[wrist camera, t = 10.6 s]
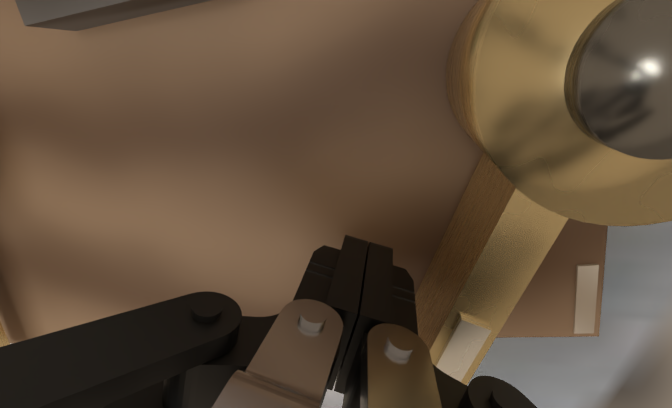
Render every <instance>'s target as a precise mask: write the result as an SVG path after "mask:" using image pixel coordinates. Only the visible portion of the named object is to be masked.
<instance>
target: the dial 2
mask: <svg viewBox="0 0 672 408" xmlns="http://www.w3.org/2000/svg"><path fill="white" fill-rule="evenodd" d="M446 90H447V95H448V100H449V103H450V106H451V109H452V112H453V114H454V115H455V117H456V119H457V121H458V123H459V124H460V126H461V127H462V128H463V130H464V131H465V132H466V133H467V134H468V135H469V137H470V138H471V139H472V140H473V141H474V142H475V143H476V144H477V145H478V147H479V148H480V149H481V150H482V151H483V154H482V156H481V158H480V160H479V163H478V165H477V167H476V169H475V171H474V173H473V175H472V177H471V179H470V182H469V184H468V186H467V188H466V190H465V192H464V194H463V196H462V198H461V201H460V203H459V205H458V207H457V209H456V211H455V213H454V215H453V217H452V220H451V222H450V224H449V226H448V228H447V230H446V232H445V234H444V236H443V239H442V241H441V243H440V245H439V247H438V249H437V251H436V253H435V255H434V257H433V260H432V262H431V264H430V266H429V268H428V270H427V272H426V274H425V276H424V279H423V281H422V283H421V285H420V287H419V289H418V291H417V293H416V295H415V304H416V315H417V326H418V336H419V337H420V338H421V339H422V340H423V341H424V343H425V344H426V345H427V347H428V349H429V352H430V355H431V359H432V364H434V365H435V366H436V367H437V368H438V369H440V370H441V371H442V372H444V373H446V374H447V375H449V376H451V377H453V378H454V379H456V380H458V381H460V382H461V383H463V384H465V385H467V384H468V382H469V381H470V379H471V377H472V376H473V374H474V373H475V371H476V369H477V368H478V366H479V364H480V363H481V361H482V359H483V358H484V356H485V355H486V353H487V351H488V350H489V348H490V346H491V345H492V343H493V341H494V340H495V338H496V336H497V335H498V333H499V332H500V330H501V328H502V327H503V325H504V323H505V322H506V320H507V318H508V317H509V315H510V314H511V312H512V310H513V309H514V307H515V305H516V304H517V302H518V300H519V299H520V297H521V296H522V294H523V292H524V291H525V289H526V287H527V286H528V284H529V282H530V281H531V279H532V277H533V276H534V274H535V273H536V271H537V269H538V268H539V266H540V264H541V263H542V261H543V259H544V258H545V256H546V255H547V253H548V251H549V250H550V248H551V246H552V245H553V243H554V241H555V240H556V238H557V237H558V235H559V233H560V232H561V230H562V228H563V227H564V225H565V223H566V222H567V220H568V218H570V219H574V220H578V221H581V222H586V223H592V224H598V225H607V226H637V225H649V224H655V223H661V222H667V221H672V0H479V1H478V2H477V3H476V4H475V5H474V6H473V8H472V9H471V10H470V11H469V13H468V14H467V15H466V17H465V18H464V20H463V22H462V23H461V25H460V27H459V28H458V31H457V33H456V35H455V37H454V39H453V42H452V45H451V48H450V51H449V55H448V60H447V66H446Z"/></svg>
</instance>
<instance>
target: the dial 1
mask: <svg viewBox="0 0 672 408" xmlns="http://www.w3.org/2000/svg"><path fill="white" fill-rule="evenodd" d="M6 345H10V343H9V341H8V338H7V336H6V334H5V331H4V329H3V327H2V324H1V322H0V347H2V346H6Z"/></svg>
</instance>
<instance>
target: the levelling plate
mask: <svg viewBox="0 0 672 408" xmlns="http://www.w3.org/2000/svg"><path fill="white" fill-rule="evenodd" d="M478 1H479V0H0V322H1V324H2V327H3V329H4V331H5V334H6V336H7V338H8V341H9V343H17V342H20V341H24V340H27V339H31V338H34V337H38V336H42V335H45V334H49V333H52V332H56V331H59V330H63V329H66V328H70V327H74V326H77V325H81V324H84V323H88V322H91V321H95V320H98V319H102V318H106V317H109V316H113V315H116V314H120V313H123V312H127V311H130V310H134V309H138V308H141V307H145V306H148V305H152V304H155V303H159V302H162V301H166V300H170V299H173V298H177V297H180V296H184V295H187V294H191V293H195V292H202V291H210V292H217V293H221V294H224V295H226V296H228V297H230V298H232V299H233V300H235V301H236V302H237V303H238V305H239V306H240V308H241V311H242V316H252V317H266V316H272V315H276V314H279V313H280V312H281V310H282V309H283V307H284V306H285V305H286V304H288V303H289V302H291V301H293V299H294V297H295V294H296V292H297V290H298V287H299V285H300V282H301V280H302V278H303V275H304V273H305V271H306V268H307V266H308V264H309V262H310V259H311V257H312V254H313V252H314V251H315V250H317V249H318V248H320V247H322V246H323V245H326V246H329V247H333V248H336V249H339V250H341V248H342V244H343V241H344V237H345V235H349V236H352V237H355V238H359V239H362V240H366V241H368V243H369V242H373V243H376V244H380V245H383V246H387V247H390V248H393V265H394V266H398V267H401V268H404V269H406V270H407V271H408V273H409V274H410V276H411V277H412V279H413V280H414V294H415V295H416V293H417V291H418V289H419V287H420V285H421V283H422V281H423V279H424V276H425V274H426V272H427V270H428V268H429V266H430V264H431V262H432V260H433V257H434V255H435V253H436V251H437V249H438V247H439V245H440V243H441V241H442V239H443V236H444V234H445V232H446V230H447V228H448V226H449V224H450V222H451V220H452V217H453V215H454V213H455V211H456V209H457V207H458V205H459V203H460V201H461V198H462V196H463V194H464V192H465V190H466V188H467V186H468V184H469V182H470V179H471V177H472V175H473V173H474V171H475V169H476V167H477V165H478V163H479V160H480V158H481V156H482V154H483V151H482V150H481V149H480V148H479V147H478V145H477V144H476V143H475V142H474V141H473V140H472V139H471V138H470V137H469V135H468V134H467V133H466V132H465V131H464V130H463V128H462V127H461V126H460V124H459V123H458V121H457V119H456V117H455V115H454V114H453V112H452V109H451V106H450V103H449V100H448V95H447V90H446V66H447V60H448V55H449V51H450V48H451V45H452V42H453V39H454V37H455V35H456V33H457V31H458V28H459V27H460V25H461V23H462V22H463V20H464V18H465V17H466V15H467V14H468V13H469V11H470V10H471V9H472V8H473V6H474V5H475V4H476V3H477V2H478ZM606 239H607V225H598V224H592V223H586V222H581V221H578V220H574V219H570V218H568V220H567V222H566V223H565V225H564V227H563V228H562V230H561V232H560V233H559V235H558V237H557V238H556V240H555V241H554V243H553V245H552V246H551V248H550V250H549V251H548V253H547V255H546V256H545V258H544V259H543V261H542V263H541V264H540V266H539V268H538V269H537V271H536V273H535V274H534V276H533V277H532V279H531V281H530V282H529V284H528V286H527V287H526V289H525V291H524V292H523V294H522V296H521V297H520V299H519V300H518V302H517V304H516V305H515V307H514V309H513V310H512V312H511V314H510V315H509V317H508V318H507V320H506V322H505V323H504V325H503V327H502V328H501V330H500V332H499V333H498V335H497V336H496V337H576V336H599V327H600V315H601V302H602V289H603V277H604V264H605V252H606Z"/></svg>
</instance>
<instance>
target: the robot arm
mask: <svg viewBox="0 0 672 408" xmlns="http://www.w3.org/2000/svg"><path fill="white" fill-rule="evenodd" d="M336 377H337V378H336ZM335 380H336V384H335V389H334V391H336V392H339V393H343V394H344V399H343V406H342V408H537V407H536V406H535V405H534V404H533V403H532V402H531V401H530V400H529V399H528V398H527V397H525V396H524V395H523V394H522V393H521V392H520V391H519V390H517V389H516V388H515V387H513V386H512V385H510V384H508V383H507V382H505V381H503V380H500V379H498V378H494V377H491V376H479V377H476V378H474V379H473V380H472V381H471V382H470V384H469V386H467V385H465V384H463V383H461V382H460V381H458V380H456V379H454V378H453V377H451V376H449V375H447V374H446V373H444V372H442V371H441V370H440V369H438V368H437V367H436V366H435V365H434V364H432V359H431V355H430V352H429V349H428V347H427V345H426V344H425V343H424V341H423V340H422V339H421V338H420V337H419V336H418V326H417V315H416V304H415V294H414V280H413V279H412V277H411V276H410V274H409V273H408V271H407V270H406V269H404V268H401V267H398V266H394V265H393V248H390V247H387V246H383V245H380V244H376V243H373V242H369V243H368V241H366V240H362V239H359V238H355V237H352V236H349V235H345V237H344V241H343V244H342V248H341V250H339V249H336V248H333V247H329V246H326V245H323V246H322V247H320V248H318V249H317V250H315V251H314V252H313V254H312V257H311V259H310V262H309V264H308V266H307V268H306V271H305V273H304V275H303V278H302V280H301V282H300V285H299V287H298V290H297V292H296V294H295V297H294V299H293V301H291V302H289V303H288V304H286V305H285V306H284V307H283V309H282V310H281V312H280V313H279V314H276V315H272V316H266V317H252V316H242V311H241V308H240V306H239V305H238V303H237V302H236V301H235V300H233V299H232V298H230V297H228V296H226V295H224V294H221V293H217V292H210V291H202V292H195V293H191V294H187V295H184V296H180V297H177V298H173V299H170V300H166V301H162V302H159V303H155V304H152V305H148V306H145V307H141V308H138V309H134V310H130V311H127V312H123V313H120V314H116V315H113V316H109V317H106V318H102V319H98V320H95V321H91V322H88V323H84V324H81V325H77V326H74V327H70V328H66V329H63V330H59V331H56V332H52V333H49V334H45V335H42V336H38V337H34V338H31V339H27V340H24V341H20V342H17V343H13V344H10V345H6V346H2V347H0V408H321V406H322V403H323V400H324V397H325V394H326V391H327V389H329V390H332V389H333V386H334V383H335Z"/></svg>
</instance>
